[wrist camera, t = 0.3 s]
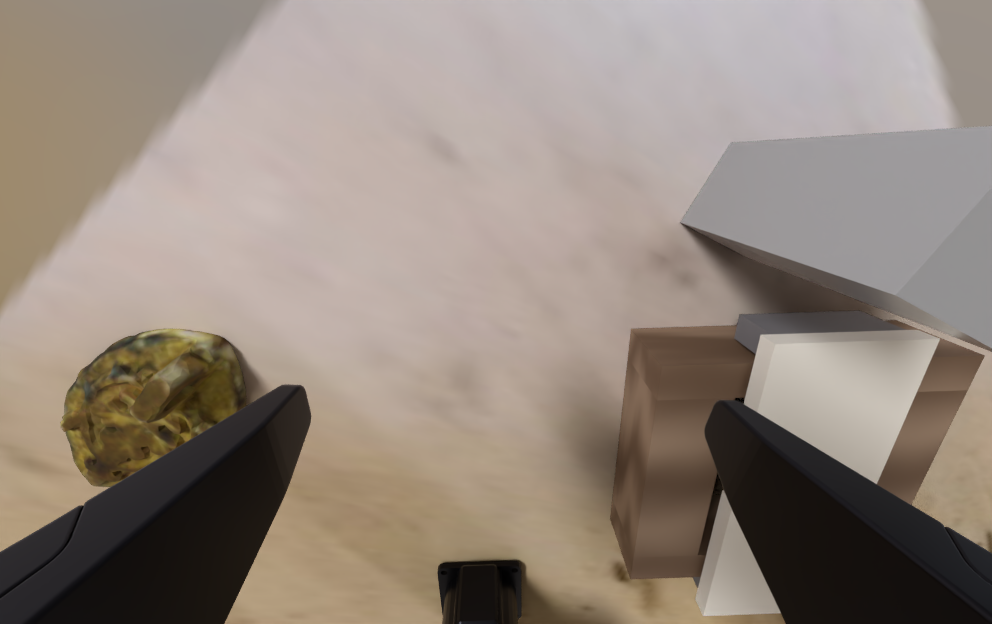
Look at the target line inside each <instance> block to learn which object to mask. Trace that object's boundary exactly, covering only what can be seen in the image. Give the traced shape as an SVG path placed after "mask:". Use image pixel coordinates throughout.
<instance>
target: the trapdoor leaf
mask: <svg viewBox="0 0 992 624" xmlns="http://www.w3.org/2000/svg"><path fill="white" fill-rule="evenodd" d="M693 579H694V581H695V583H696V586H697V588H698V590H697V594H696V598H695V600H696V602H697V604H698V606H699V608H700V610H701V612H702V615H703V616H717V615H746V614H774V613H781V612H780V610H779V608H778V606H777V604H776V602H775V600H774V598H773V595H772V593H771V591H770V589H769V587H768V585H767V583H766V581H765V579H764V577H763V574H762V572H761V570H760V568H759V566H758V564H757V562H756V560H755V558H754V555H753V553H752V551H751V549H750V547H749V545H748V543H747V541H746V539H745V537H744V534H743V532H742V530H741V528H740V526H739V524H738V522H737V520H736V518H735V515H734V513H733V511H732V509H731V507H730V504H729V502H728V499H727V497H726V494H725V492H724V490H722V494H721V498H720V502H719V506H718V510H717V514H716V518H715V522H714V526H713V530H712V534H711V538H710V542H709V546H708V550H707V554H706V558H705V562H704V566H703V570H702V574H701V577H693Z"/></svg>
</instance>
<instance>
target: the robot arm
mask: <svg viewBox="0 0 992 624" xmlns="http://www.w3.org/2000/svg"><path fill="white" fill-rule="evenodd" d="M310 422H311V412H310V407H309V403H308V399H307V395H306V391H305V388H304V387H303V386H301V385H281V386H279V387H277V388H276V389H274V390H272V391H271V392H269V393H267V394H266V395H264V396H262V397H261V398H259V399H257V400H256V401H254V402H252V403H251V404H249V405H247V406H246V407H244V408H242V409H241V410H239V411H237V412H236V413H234V414H232V415H230V416H229V417H227V418H225V419H224V420H222V421H220V422H219V423H217V424H215V425H214V426H212V427H210V428H209V429H207V430H205V431H204V432H202V433H200V434H199V435H197V436H195V437H194V438H192V439H190V440H189V441H187V442H185V443H184V444H182V445H180V446H179V447H177V448H175V449H174V450H172V451H170V452H169V453H167V454H165V455H163V456H162V457H160V458H158V459H157V460H155V461H153V462H152V463H150V464H148V465H147V466H145V467H143V468H142V469H140V470H138V471H137V472H135V473H133V474H132V475H130V476H128V477H127V478H125V479H123V480H122V481H120V482H118V483H117V484H115V485H113V486H111V487H110V488H108V489H106V490H105V491H103V492H101V493H100V494H98V495H96V496H95V497H93V498H91V499H90V500H88V501H87V502H85V504H84V506H78V507H76V508H74V509H73V510H71V511H69V512H68V513H66V514H64V515H63V516H61V517H59V518H58V519H56V520H54V521H53V522H51V523H49V524H48V525H46V526H44V527H42V528H41V529H39V530H37V531H36V532H34V533H32V534H30V535H29V536H27V537H25V538H23V539H22V540H20V541H18V542H17V543H15V544H13V545H11V546H10V547H8V548H6V549H5V550H3V551H1V552H0V624H224V623H225V621H226V619H227V617H228V615H229V613H230V610H231V608H232V606H233V604H234V602H235V600H236V598H237V596H238V594H239V591H240V589H241V587H242V585H243V583H244V581H245V579H246V577H247V575H248V572H249V570H250V568H251V566H252V564H253V562H254V560H255V558H256V556H257V553H258V551H259V549H260V547H261V545H262V543H263V541H264V539H265V537H266V534H267V532H268V530H269V528H270V526H271V524H272V522H273V520H274V517H275V515H276V513H277V511H278V509H279V507H280V505H281V503H282V500H283V498H284V496H285V494H286V491H287V489H288V486H289V483H290V481H291V478H292V475H293V472H294V469H295V466H296V464H297V461H298V458H299V455H300V452H301V449H302V446H303V443H304V441H305V438H306V435H307V432H308V429H309V426H310ZM704 434H705V439H706V442H707V444H708V447H709V450H710V453H711V456H712V458H713V461H714V464H715V467H716V469H717V472H718V475H719V478H720V481H721V483H722V486H723V489H724V492H725V494H726V497H727V499H728V502H729V504H730V507H731V509H732V511H733V513H734V515H735V518H736V520H737V522H738V524H739V526H740V528H741V530H742V532H743V534H744V537H745V539H746V541H747V543H748V545H749V547H750V549H751V551H752V553H753V555H754V558H755V560H756V562H757V564H758V566H759V568H760V570H761V572H762V574H763V577H764V579H765V581H766V583H767V585H768V587H769V589H770V591H771V593H772V595H773V598H774V600H775V602H776V604H777V606H778V608H779V610H780V612H781V614H782V617H783V619H784V621H785V623H786V624H992V553H991V552H989V551H987V550H986V549H984V548H982V547H980V546H979V545H977V544H975V543H974V542H972V541H970V540H969V539H967V538H965V537H964V536H962V535H961V534H959V533H957V532H956V531H954V530H952V529H951V528H948V527H944V525H943V524H942V523H940V522H939V521H937V520H935V519H934V518H932V517H930V516H929V515H927V514H925V513H924V512H922V511H920V510H919V509H917V508H915V507H914V506H912V505H910V504H909V503H907V502H906V501H904V500H902V499H901V498H899V497H897V496H896V495H894V494H892V493H891V492H889V491H887V490H886V489H884V488H882V487H881V486H879V485H877V484H876V483H874V482H872V481H871V480H869V479H867V478H866V477H864V476H862V475H861V474H859V473H857V472H856V471H854V470H852V469H851V468H849V467H847V466H846V465H844V464H842V463H841V462H839V461H837V460H836V459H834V458H832V457H831V456H829V455H827V454H826V453H824V452H822V451H821V450H819V449H817V448H816V447H814V446H812V445H811V444H809V443H807V442H806V441H804V440H802V439H801V438H799V437H797V436H796V435H794V434H792V433H791V432H789V431H787V430H786V429H784V428H783V427H781V426H779V425H778V424H776V423H774V422H773V421H771V420H769V419H768V418H766V417H764V416H763V415H761V414H759V413H758V412H756V411H754V410H753V409H751V408H749V407H748V406H746V405H744V404H743V403H741V402H739V401H736V400H718V401H717V402H716V403H715V404H714V406H713V408H712V411H711V413H710V415H709V418H708V420H707V422H706V425H705V429H704ZM438 581H439V589H440V597H441V605H442V613H443V621H442V624H518V619H519V618H520V617H521V564H520V563H519V562H518V561H498V562H469V563H443V564H440V565H439V566H438Z"/></svg>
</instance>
